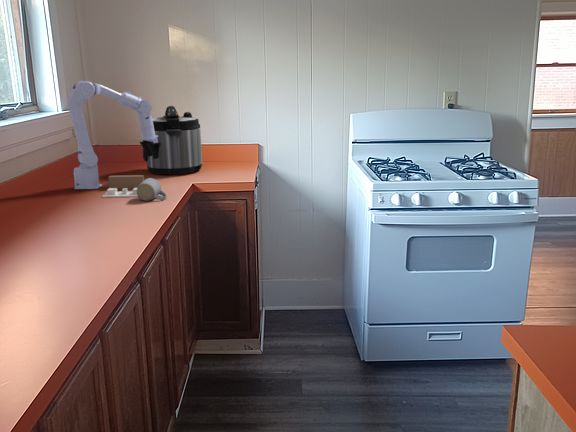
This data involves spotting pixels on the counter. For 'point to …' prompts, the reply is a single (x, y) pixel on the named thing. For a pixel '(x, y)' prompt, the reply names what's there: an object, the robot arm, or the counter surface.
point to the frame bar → (125, 181)
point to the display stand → (120, 193)
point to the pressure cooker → (176, 144)
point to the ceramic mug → (150, 190)
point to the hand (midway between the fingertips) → (152, 157)
